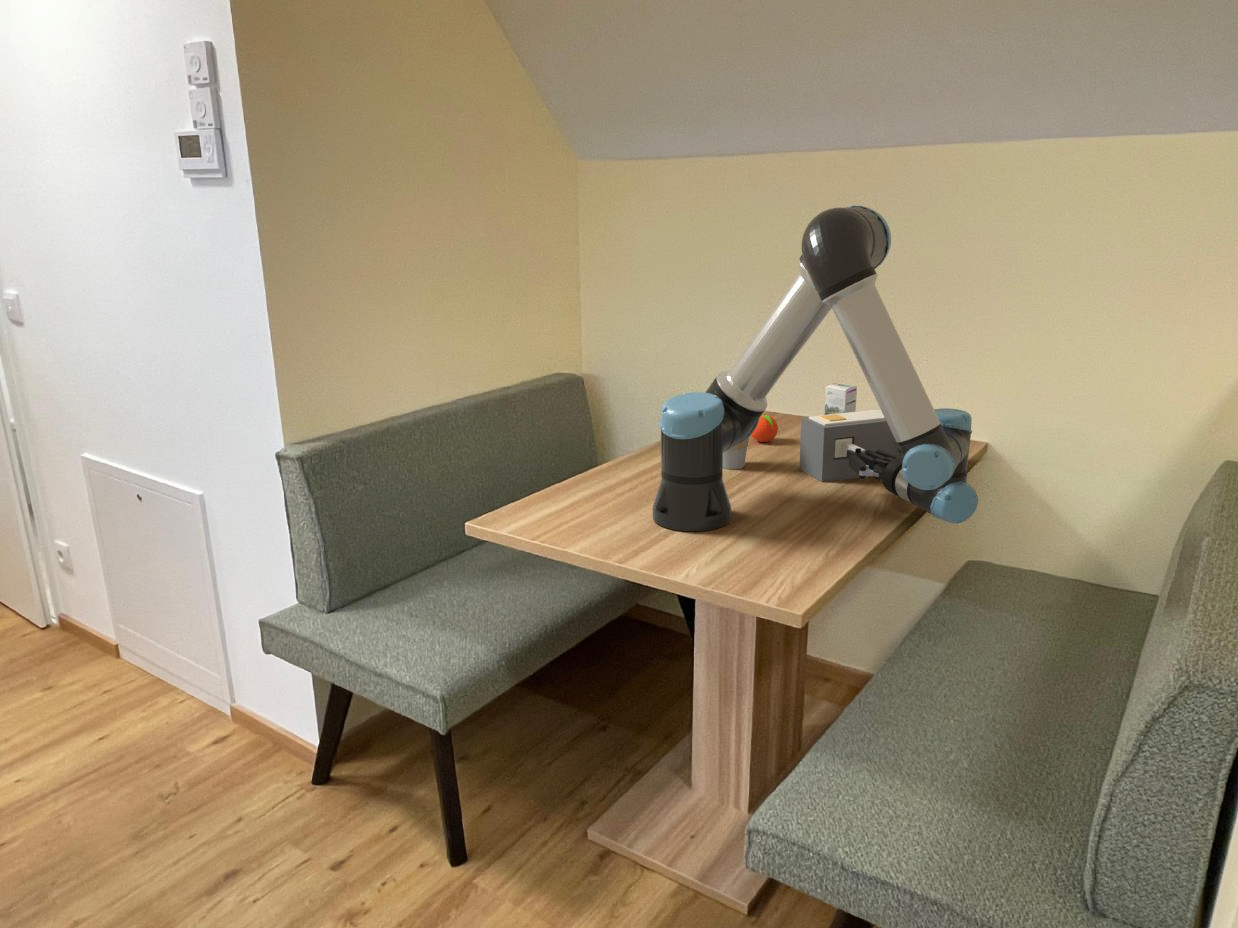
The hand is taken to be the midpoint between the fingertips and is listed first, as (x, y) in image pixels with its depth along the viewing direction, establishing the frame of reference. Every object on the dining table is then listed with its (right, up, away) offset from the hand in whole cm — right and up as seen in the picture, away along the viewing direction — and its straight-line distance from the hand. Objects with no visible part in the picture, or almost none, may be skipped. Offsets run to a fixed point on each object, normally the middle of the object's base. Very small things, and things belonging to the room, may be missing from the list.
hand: (845, 448), depth 189 cm
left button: (-1, -1, +3) cm, 4 cm away
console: (+6, -4, +9) cm, 11 cm away
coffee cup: (-23, -4, +13) cm, 27 cm away
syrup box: (+6, +2, +29) cm, 30 cm away
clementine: (-12, +2, +32) cm, 34 cm away
